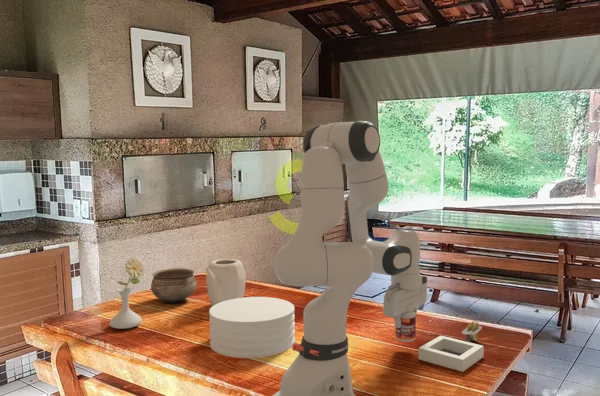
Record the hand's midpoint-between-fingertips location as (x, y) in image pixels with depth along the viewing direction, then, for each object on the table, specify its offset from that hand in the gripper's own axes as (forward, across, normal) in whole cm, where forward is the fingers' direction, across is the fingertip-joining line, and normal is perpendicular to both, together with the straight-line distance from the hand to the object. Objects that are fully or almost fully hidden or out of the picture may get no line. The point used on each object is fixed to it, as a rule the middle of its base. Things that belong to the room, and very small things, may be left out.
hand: (405, 324), depth 162 cm
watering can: (+8, -7, +80) cm, 81 cm away
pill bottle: (+5, 0, 0) cm, 5 cm away
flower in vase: (+8, -45, +89) cm, 100 cm away
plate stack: (+9, -26, +42) cm, 50 cm away
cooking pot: (+8, -15, +104) cm, 106 cm away
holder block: (+8, +3, -14) cm, 16 cm away
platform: (+9, +20, -13) cm, 25 cm away
